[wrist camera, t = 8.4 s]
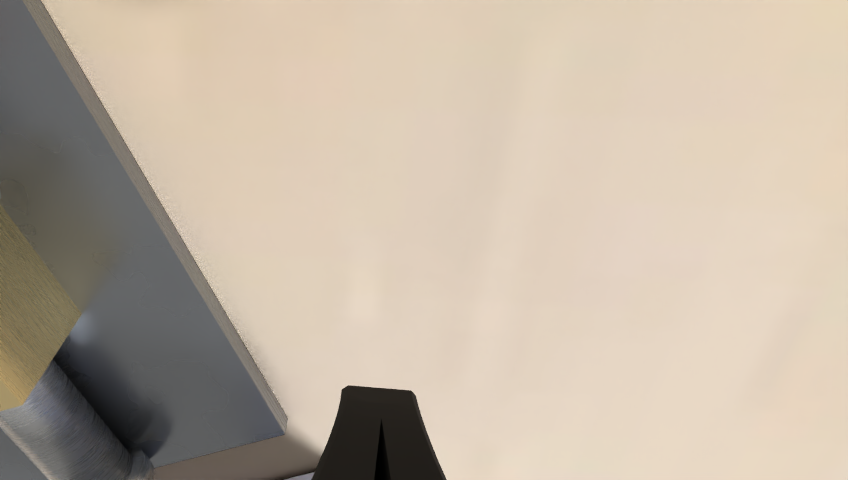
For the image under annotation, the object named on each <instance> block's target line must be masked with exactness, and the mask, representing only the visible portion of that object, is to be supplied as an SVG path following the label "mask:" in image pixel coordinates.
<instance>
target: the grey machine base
mask: <svg viewBox="0 0 848 480" xmlns="http://www.w3.org/2000/svg"><path fill="white" fill-rule="evenodd" d="M287 420H288V418H287V416H286V415H285V413H284V411H283V410H282V408H281V406H280V405H279V403H278V401H277V399H276V398H275V396H274V394H273V393H272V391H271V389H270V388H269V386H268V384H267V383H266V381H265V379H264V377H263V376H262V374H261V372H260V371H259V369H258V367H257V366H256V364H255V362H254V361H253V359H252V357H251V355H250V354H249V352H248V350H247V349H246V347H245V345H244V344H243V342H242V340H241V339H240V337H239V335H238V333H237V332H236V330H235V328H234V327H233V325H232V323H231V322H230V320H229V318H228V317H227V315H226V313H225V311H224V310H223V308H222V306H221V305H220V303H219V301H218V300H217V298H216V296H215V295H214V293H213V291H212V289H211V288H210V286H209V284H208V283H207V281H206V279H205V278H204V276H203V274H202V273H201V271H200V269H199V267H198V266H197V264H196V262H195V261H194V259H193V257H192V256H191V254H190V252H189V251H188V249H187V247H186V245H185V244H184V242H183V240H182V239H181V237H180V235H179V234H178V232H177V230H176V229H175V227H174V225H173V223H172V222H171V220H170V218H169V217H168V215H167V213H166V212H165V210H164V208H163V207H162V205H161V203H160V201H159V200H158V198H157V196H156V195H155V193H154V191H153V190H152V188H151V186H150V185H149V183H148V181H147V180H146V178H145V176H144V174H143V173H142V171H141V169H140V168H139V166H138V164H137V163H136V161H135V159H134V158H133V156H132V154H131V152H130V151H129V149H128V147H127V146H126V144H125V142H124V141H123V139H122V137H121V136H120V134H119V132H118V130H117V129H116V127H115V125H114V124H113V122H112V120H111V119H110V117H109V115H108V114H107V112H106V110H105V108H104V107H103V105H102V103H101V102H100V100H99V98H98V97H97V95H96V93H95V92H94V90H93V88H92V86H91V85H90V83H89V81H88V80H87V78H86V76H85V75H84V73H83V71H82V70H81V68H80V66H79V64H78V63H77V61H76V59H75V58H74V56H73V54H72V53H71V51H70V49H69V48H68V46H67V44H66V42H65V41H64V39H63V37H62V36H61V34H60V32H59V31H58V29H57V27H56V26H55V24H54V22H53V20H52V19H51V17H50V15H49V14H48V12H47V10H46V9H45V7H44V5H43V4H42V2H41V0H0V480H153V479H154V468H157V467H160V466H164V465H168V464H172V463H176V462H180V461H184V460H187V459H191V458H195V457H199V456H203V455H207V454H211V453H215V452H218V451H222V450H226V449H230V448H234V447H238V446H242V445H246V444H249V443H253V442H257V441H261V440H265V439H269V438H273V437H277V436H280V435H284V434H285V432H286V426H287Z"/></svg>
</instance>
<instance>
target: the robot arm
mask: <svg viewBox="0 0 848 480" xmlns="http://www.w3.org/2000/svg"><path fill="white" fill-rule="evenodd" d="M285 480H446V477H445V475H444V473H443V471H442V469H441V466H440V464H439V462H438V459H437V457H436V455H435V452H434V450H433V447H432V445H431V442H430V439H429V437H428V434H427V431H426V428H425V426H424V423H423V420H422V417H421V414H420V410H419V407H418V403H417V399H416V396H415V394H414V393H413V392H412V391H409V390H397V389H385V388H373V387H360V386H347V387H345V388H343V389H342V392H341V400H340V405H339V409H338V413H337V416H336V420H335V423H334V426H333V429H332V431H331V434H330V437H329V440H328V442H327V445H326V447H325V449H324V452H323V454H322V456H321V459H320V461H319V463H318V466H317V468H316V470H315V472H312V473H308V474H304V475H300V476H296V477H292V478H288V479H285Z"/></svg>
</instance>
